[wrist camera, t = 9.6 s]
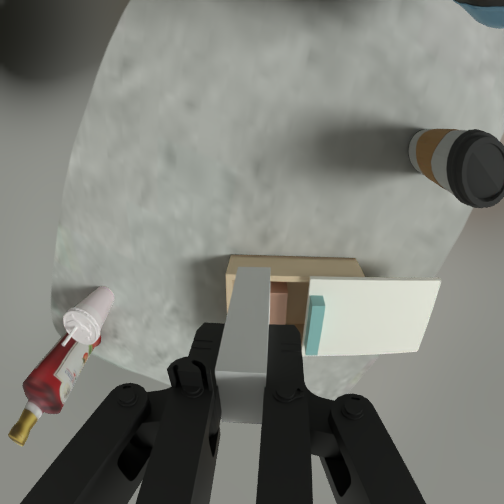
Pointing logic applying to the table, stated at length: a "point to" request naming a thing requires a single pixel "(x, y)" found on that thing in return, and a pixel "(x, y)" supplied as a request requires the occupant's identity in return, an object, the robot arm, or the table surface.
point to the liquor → (51, 384)
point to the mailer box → (291, 281)
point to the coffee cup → (461, 163)
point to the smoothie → (88, 316)
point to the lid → (367, 315)
